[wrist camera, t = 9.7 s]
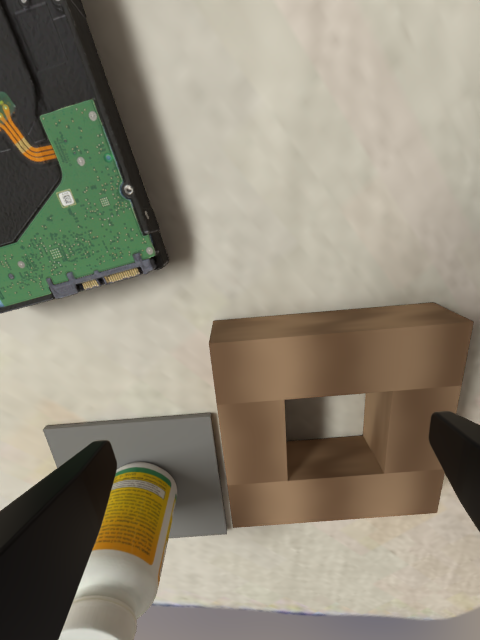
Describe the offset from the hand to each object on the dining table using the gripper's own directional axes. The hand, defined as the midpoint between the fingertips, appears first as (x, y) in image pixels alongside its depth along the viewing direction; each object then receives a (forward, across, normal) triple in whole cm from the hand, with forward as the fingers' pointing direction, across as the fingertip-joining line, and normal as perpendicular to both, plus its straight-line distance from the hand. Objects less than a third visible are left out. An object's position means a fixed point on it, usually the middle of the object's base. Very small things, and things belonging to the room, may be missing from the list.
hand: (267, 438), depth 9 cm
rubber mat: (+11, +10, +13) cm, 20 cm away
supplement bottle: (+11, +10, +13) cm, 20 cm away
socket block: (+12, -4, +8) cm, 15 cm away
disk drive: (+12, +11, -10) cm, 19 cm away
